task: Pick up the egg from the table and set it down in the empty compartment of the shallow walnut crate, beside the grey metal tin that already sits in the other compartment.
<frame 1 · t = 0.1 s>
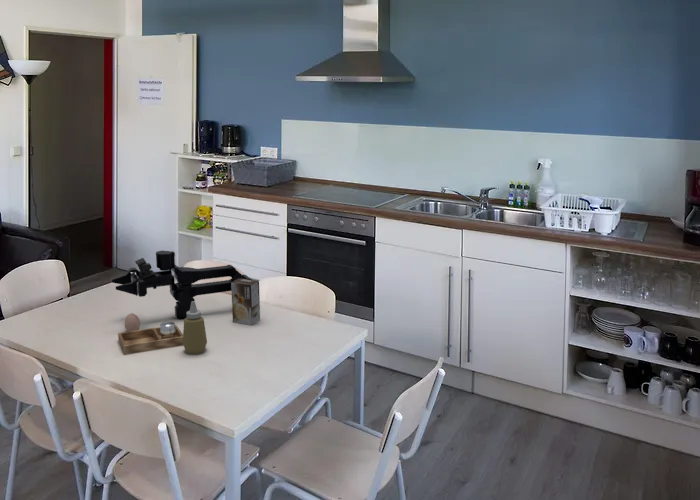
hand: (113, 284, 238), 17 cm above the table, tool horizontal, fingers open, 9 cm apart
coffee box: (246, 321, 250), on the table
crate: (151, 344, 227), on the table
egg: (132, 333, 237), on the table
squeeze bottle: (195, 352, 221), on the table
tin: (168, 340, 229), point 1 cm above the table, touching crate
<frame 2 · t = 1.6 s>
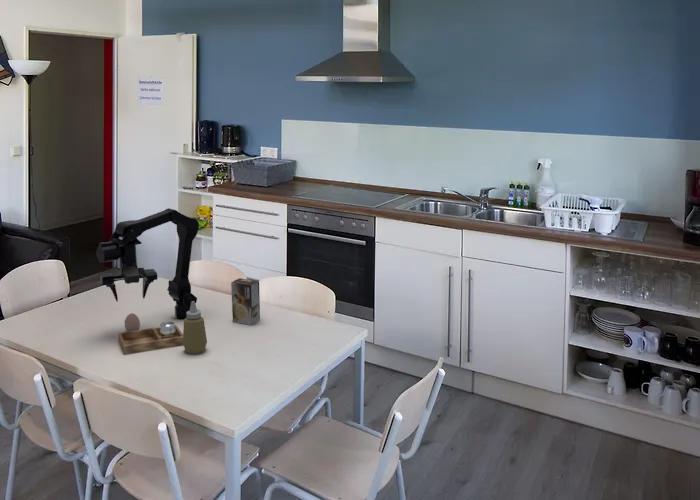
hand: (130, 299, 234), 13 cm above the table, tool pointing down, fingers open, 9 cm apart
nothing on the table moved.
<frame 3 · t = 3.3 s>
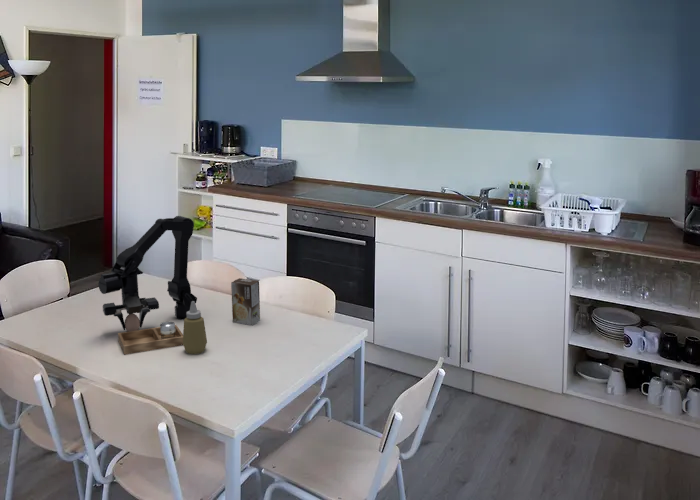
hand: (132, 328, 237), 2 cm above the table, tool pointing down, fingers closed on egg, 5 cm apart
egg: (132, 333, 237), on the table, touching gripper
everything else where it was.
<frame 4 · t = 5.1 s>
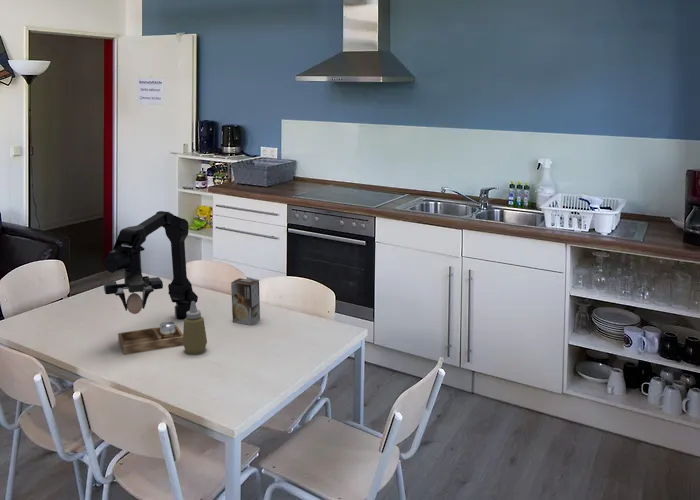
hand: (134, 309, 225), 12 cm above the table, tool pointing down, fingers closed on egg, 5 cm apart
egg: (135, 314, 225), point 11 cm above the table, touching gripper
everything else where it was.
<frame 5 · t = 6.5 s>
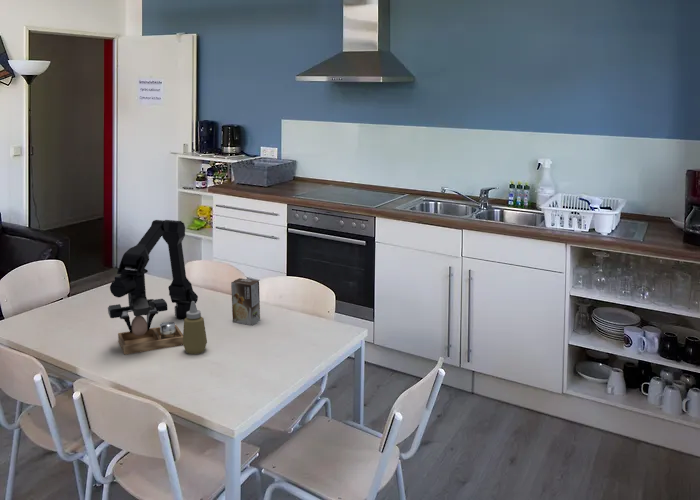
hand: (139, 331, 224), 5 cm above the table, tool pointing down, fingers closed on egg, 5 cm apart
egg: (139, 336, 225), point 4 cm above the table, touching gripper
everything else where it was.
when the fingers open (4 cm above the table, at t = 7.2 s): egg drops 2 cm, resting on crate.
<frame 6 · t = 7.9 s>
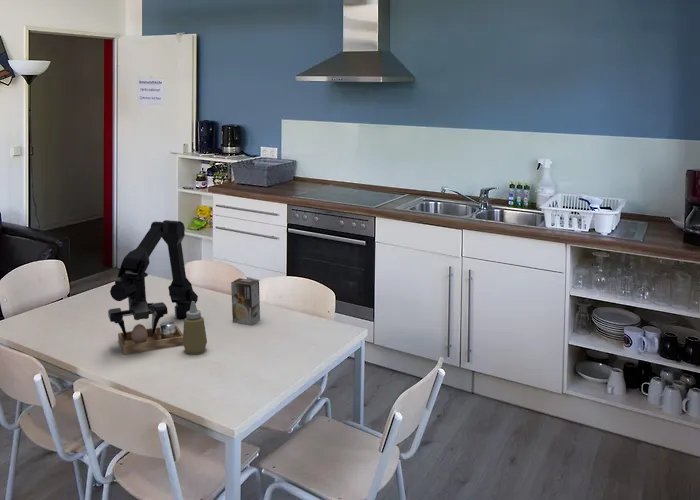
hand: (139, 335, 224), 4 cm above the table, tool pointing down, fingers open, 9 cm apart
egg: (140, 344, 225), resting on crate
everything else where it was.
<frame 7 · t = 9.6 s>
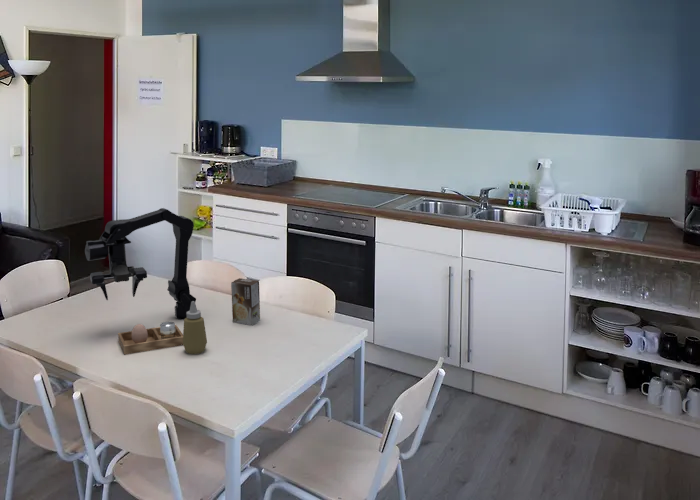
hand: (120, 298, 236), 12 cm above the table, tool pointing down, fingers open, 9 cm apart
nothing on the table moved.
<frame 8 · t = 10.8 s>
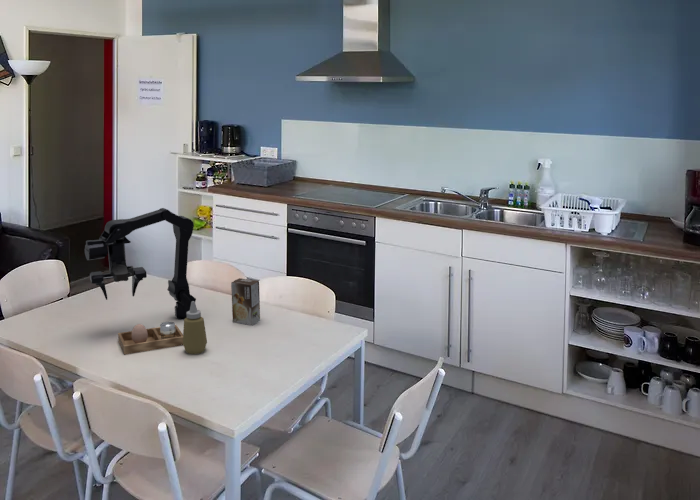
hand: (120, 297, 236), 13 cm above the table, tool pointing down, fingers open, 9 cm apart
nothing on the table moved.
at the end: egg inside the target area on the crate (0.2 cm from its centre), point 0.4 cm above the crate's base; the gripper is holding nothing; tin moved 0.1 cm from its start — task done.
